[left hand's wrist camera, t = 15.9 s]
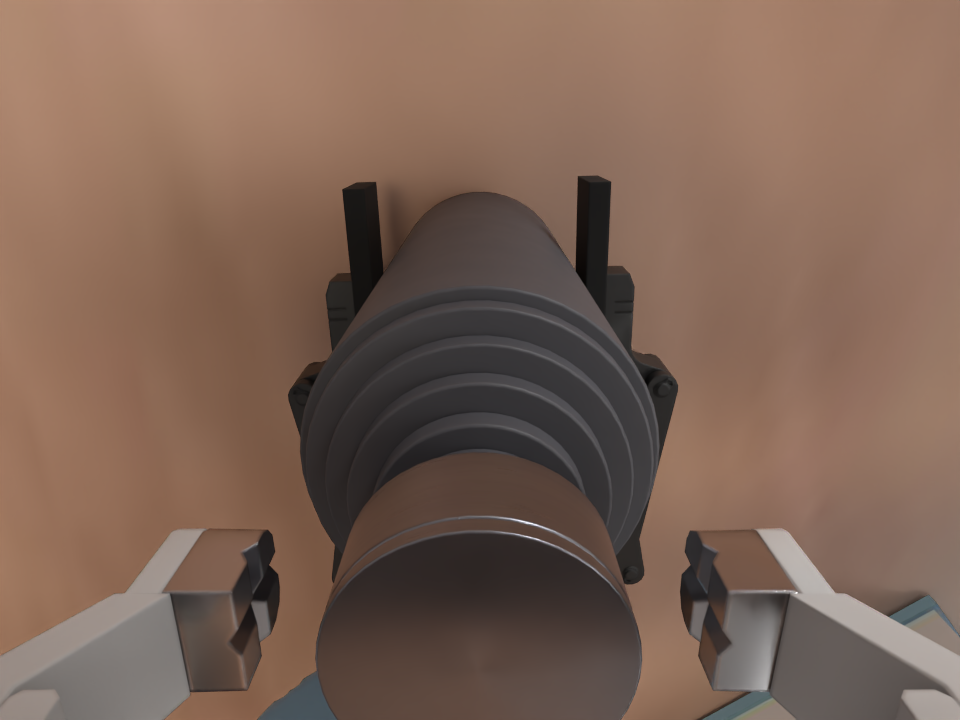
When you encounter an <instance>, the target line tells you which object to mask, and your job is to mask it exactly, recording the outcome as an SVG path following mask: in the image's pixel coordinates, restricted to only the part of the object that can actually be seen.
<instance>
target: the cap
mask: <svg viewBox="0 0 960 720" xmlns="http://www.w3.org/2000/svg"><path fill="white" fill-rule="evenodd" d="M315 659H316V668H317V676H318V680H319V683H320V687H321V690H322V693H323V696H324V698H325V700H326V702H327V704H328V707H329V708H330V710H331V711H332V713H333V714H334V716H335V718H336V719H337V720H621V719H622V717H623V716H624V714H625V713H626V711H627V710H628V708H629V706H630V704H631V702H632V700H633V697H634V695H635V693H636V689H637V686H638V682H639V679H640V673H641V665H642V649H641V640H640V635H639V631H638V627H637V623H636V620H635V617H634V614H633V611H632V607H631V604H630V601H629V598H628V594H627V591H626V588H625V585H624V582H623V578H622V575H621V572H620V569H619V565H618V562H617V559H616V556H615V553H614V549H613V546H612V543H611V540H610V537H609V534H608V531H607V529H606V526H605V524H604V522H603V520H602V518H601V516H600V515H599V513H598V511H597V510H596V508H595V507H594V506H593V504H592V503H591V502H590V501H589V499H588V498H587V497H586V496H585V495H584V494H583V493H582V492H581V491H580V490H579V489H578V488H577V487H576V486H575V485H573V484H572V483H571V482H569V481H568V480H566V479H565V478H564V477H562V476H561V475H559V474H558V473H556V472H554V471H552V470H550V469H548V468H546V467H544V466H543V465H540V464H537V463H535V462H532V461H529V460H527V459H524V458H519V457H515V456H511V455H507V454H499V453H490V452H468V453H459V454H451V455H447V456H443V457H438V458H434V459H431V460H429V461H426V462H423V463H420V464H418V465H416V466H414V467H412V468H410V469H408V470H406V471H404V472H402V473H400V474H399V475H397V476H396V477H394V478H393V479H392V480H390V481H389V482H387V483H386V484H385V485H384V486H383V487H381V488H380V489H379V490H378V491H377V492H376V493H375V494H374V495H373V496H372V497H371V498H370V500H369V501H368V502H367V503H366V504H365V506H364V507H363V508H362V510H361V512H360V513H359V515H358V517H357V518H356V520H355V522H354V525H353V527H352V529H351V532H350V534H349V537H348V540H347V544H346V547H345V550H344V553H343V556H342V559H341V562H340V565H339V569H338V572H337V575H336V578H335V581H334V584H333V587H332V590H331V593H330V597H329V600H328V603H327V606H326V610H325V612H324V615H323V618H322V622H321V625H320V629H319V633H318V637H317V642H316V658H315Z"/></svg>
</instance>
